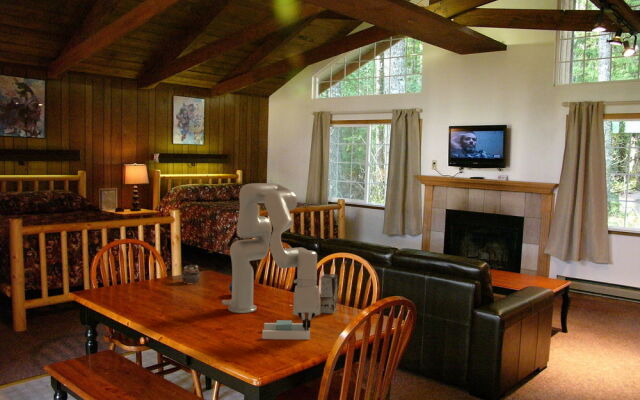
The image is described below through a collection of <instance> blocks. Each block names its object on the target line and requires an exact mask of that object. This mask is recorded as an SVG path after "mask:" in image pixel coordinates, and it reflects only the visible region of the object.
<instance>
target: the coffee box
mask: <svg viewBox="0 0 640 400" xmlns="http://www.w3.org/2000/svg"><path fill="white" fill-rule="evenodd" d="M338 277H339V274H336V273H329V274H328V273H323V275H321V277H320V314H321V313H322V314H333V315H334V313H335V312H336V310H337V309H338Z"/></svg>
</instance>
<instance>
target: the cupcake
mask: <svg viewBox="0 0 640 400" xmlns="http://www.w3.org/2000/svg"><path fill="white" fill-rule="evenodd" d="M183 268H184V269H183V270H182V273H181V277H182V282H185V283H196V282H198V283H199V279H200V269H199V266H198V265H197V264H191V263H190V264H186V265H185V266H184V267H183Z"/></svg>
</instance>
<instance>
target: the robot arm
mask: <svg viewBox="0 0 640 400" xmlns="http://www.w3.org/2000/svg"><path fill="white" fill-rule="evenodd" d="M238 199H239V210H238V211H239V212H238V219H237V224H236V226H237V227H236V234H237V236H238V237H239V238H241V239H240V240H236V241H234V242H233V243H231V245H230V248H229V253H230V254H229V255H230V259H231V268H232V269H231V270H232V271H231V272H232V273H231V274H232V275H231V279H232V281H231V282H232V293H231V299H229V300H226V299H222V300H221V301H222V302H221V304H222V305H223V306H228V309H227V310H228V311H229V312H231V313H236V314H247V313H253V312H255V311H256V310H257V305H255V304H254V272H255V271H254V268H253V266H252V265H251V261H256V260H257V261H258V260H263V259H265V258H266V257H267V255H268V253H269V249H270V252H271V256H272V258H273V261H274V263H275V265H276V266H277V267H278V268H280V269H290V268H297V271H296V272H297V275H296V276H297V278H295V279H293V283H294V284H296V285H295V288H294V293H293V310H292V315H295V316H299V317H300V318H301V320H302V324H303V328H304V330H306V324H307V330H309V328H310V329H311V320H312V319H313V318H314V317H315V316H319V315H321V313H320V300H321V291H320V287H319V285H317V284H318V282H317V281H318V274H317V273H318V253H317V252H316V251H314V250H308V249H307V248H305V247H300V246H299V247H291V248H289V247H288V248H284V246H283V243H282V234H283V233H284V232H287V231H288V230H289V229H290V228H292V227H293V225H294V220H293V217H292V215H291V213H290V211H292V210H294V209H296V208H297V205H298V197H297V195H296V194H295V192H293V191H292V190H291V189H289V188H287V187H286V186H283V185H281V184H279V183H274V182H271V183H270V182H269V183H267V182H265V183H264V182H261V183H260V182H259V183H247V184H244V185H243V186H242V187H241V188H240V190H239V195H238ZM259 204H264V207H265V209H266V212H267V214H268V217H266V216H264V215H259V214H260V207H259ZM306 314H308V315H307V317H306Z"/></svg>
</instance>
